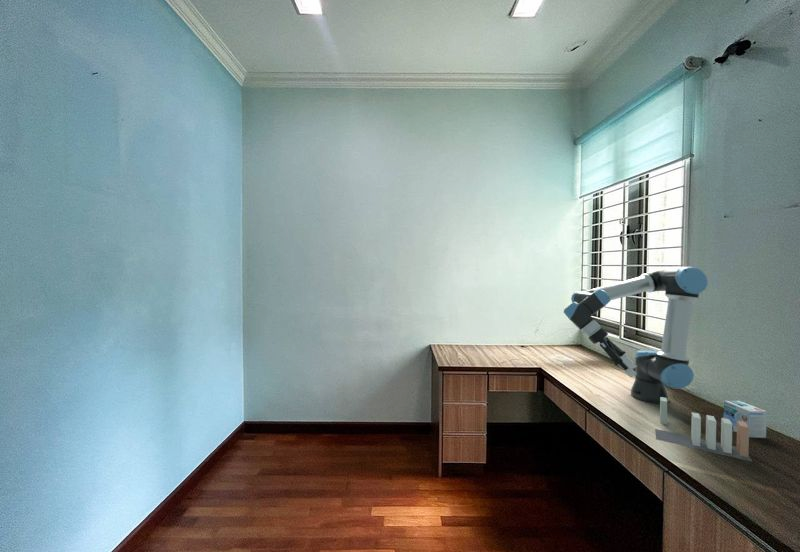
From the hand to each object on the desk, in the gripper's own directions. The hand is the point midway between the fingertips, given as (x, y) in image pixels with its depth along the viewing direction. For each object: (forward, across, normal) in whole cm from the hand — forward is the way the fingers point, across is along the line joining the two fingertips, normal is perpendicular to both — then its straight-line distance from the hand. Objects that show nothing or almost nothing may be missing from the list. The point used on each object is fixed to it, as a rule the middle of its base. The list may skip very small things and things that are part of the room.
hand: (634, 371), depth 144 cm
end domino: (+35, +15, +9) cm, 39 cm away
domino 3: (+29, +15, +3) cm, 33 cm away
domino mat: (+28, +15, 0) cm, 31 cm away
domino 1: (+21, 0, -6) cm, 22 cm away
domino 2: (+26, +15, 0) cm, 30 cm away
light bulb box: (+39, -8, +11) cm, 41 cm away
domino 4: (+32, +15, +6) cm, 36 cm away
